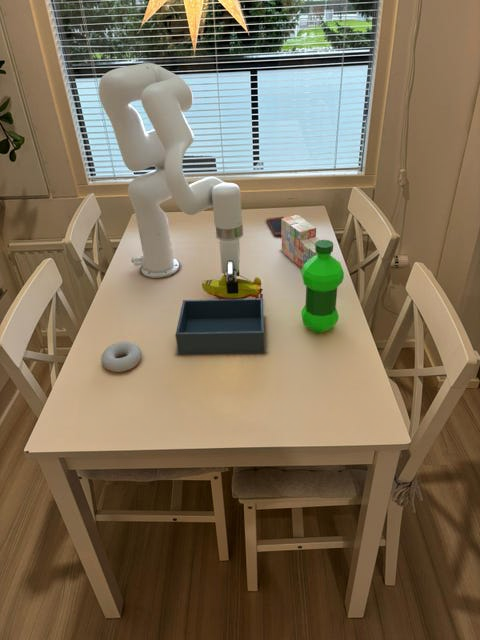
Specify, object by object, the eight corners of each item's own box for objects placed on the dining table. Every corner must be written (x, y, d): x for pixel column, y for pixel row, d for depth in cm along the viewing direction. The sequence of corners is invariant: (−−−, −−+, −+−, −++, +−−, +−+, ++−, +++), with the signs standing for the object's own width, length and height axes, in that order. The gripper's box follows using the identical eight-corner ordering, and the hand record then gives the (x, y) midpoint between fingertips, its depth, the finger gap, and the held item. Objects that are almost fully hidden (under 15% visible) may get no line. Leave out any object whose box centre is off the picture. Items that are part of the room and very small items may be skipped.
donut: (94, 366, 120) (123, 379, 115) (91, 356, 118) (120, 368, 113) (122, 345, 127) (150, 356, 122) (119, 334, 125) (148, 345, 120)
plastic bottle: (336, 340, 124) (344, 255, 109) (296, 335, 127) (298, 251, 112) (340, 318, 132) (349, 236, 117) (303, 313, 134) (306, 232, 120)
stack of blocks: (329, 274, 151) (332, 239, 144) (312, 279, 149) (314, 243, 142) (296, 246, 167) (297, 213, 160) (280, 250, 165) (281, 217, 158)
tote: (178, 354, 122) (175, 334, 118) (185, 319, 135) (183, 300, 131) (264, 353, 121) (263, 332, 117) (263, 317, 134) (263, 298, 130)
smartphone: (275, 234, 173) (266, 218, 185) (275, 237, 174) (266, 220, 186) (294, 232, 174) (284, 216, 186) (293, 234, 175) (283, 218, 187)
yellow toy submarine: (260, 306, 138) (260, 277, 132) (201, 302, 141) (197, 272, 136) (264, 294, 143) (263, 265, 137) (206, 290, 147) (203, 261, 141)
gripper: (217, 218, 136) (222, 270, 146) (213, 244, 122) (218, 300, 132) (243, 216, 136) (246, 269, 146) (242, 243, 122) (245, 299, 132)
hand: (233, 284), depth 139 cm, fingers open, 9 cm apart
